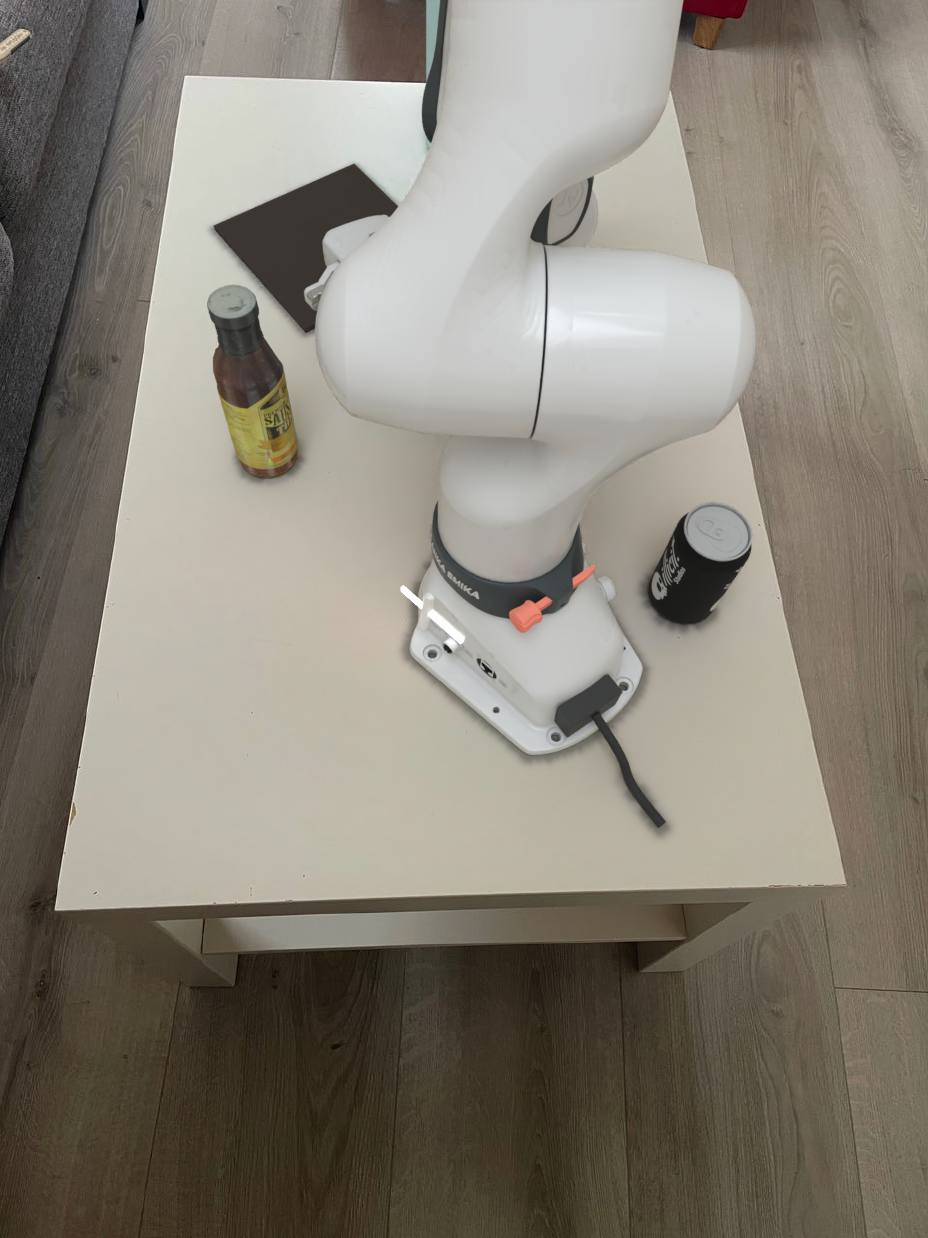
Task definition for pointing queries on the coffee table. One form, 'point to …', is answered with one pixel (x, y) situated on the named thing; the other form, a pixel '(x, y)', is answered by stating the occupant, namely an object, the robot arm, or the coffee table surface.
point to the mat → (301, 234)
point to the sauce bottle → (251, 385)
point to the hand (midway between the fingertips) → (335, 331)
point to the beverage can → (700, 562)
